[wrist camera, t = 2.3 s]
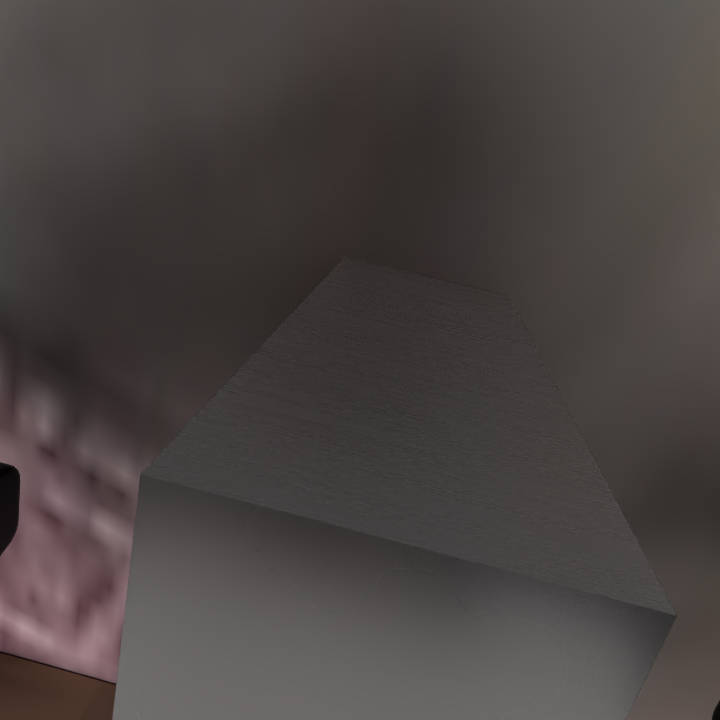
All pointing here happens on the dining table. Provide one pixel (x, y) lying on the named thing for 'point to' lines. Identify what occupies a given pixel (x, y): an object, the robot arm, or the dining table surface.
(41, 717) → the rack
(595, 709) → the grey metallic rectangular block
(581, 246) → the dining table surface
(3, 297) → the dining table surface
